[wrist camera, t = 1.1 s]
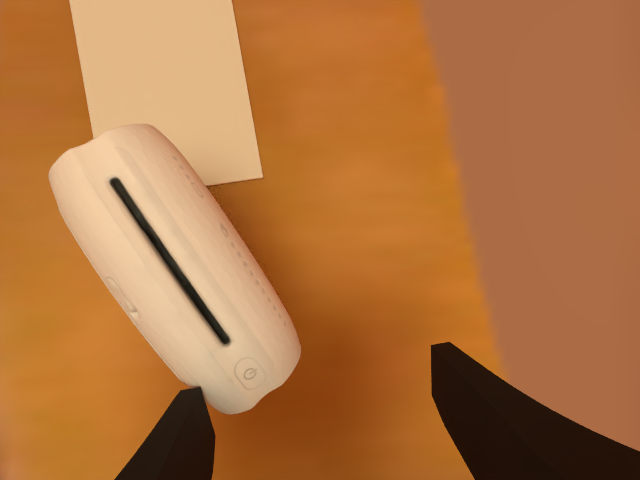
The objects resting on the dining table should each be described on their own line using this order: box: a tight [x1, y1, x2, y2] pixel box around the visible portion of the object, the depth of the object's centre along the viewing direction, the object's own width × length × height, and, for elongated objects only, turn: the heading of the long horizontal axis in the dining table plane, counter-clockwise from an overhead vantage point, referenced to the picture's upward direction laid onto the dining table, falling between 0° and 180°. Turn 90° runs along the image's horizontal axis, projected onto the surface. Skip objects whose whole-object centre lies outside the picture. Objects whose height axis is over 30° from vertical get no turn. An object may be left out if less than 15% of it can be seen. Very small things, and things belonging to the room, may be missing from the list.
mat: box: [69, 0, 263, 186], centre depth 23 cm, size 12×9×1 cm
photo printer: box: [49, 123, 301, 415], centre depth 16 cm, size 10×4×12 cm, turn 33°
